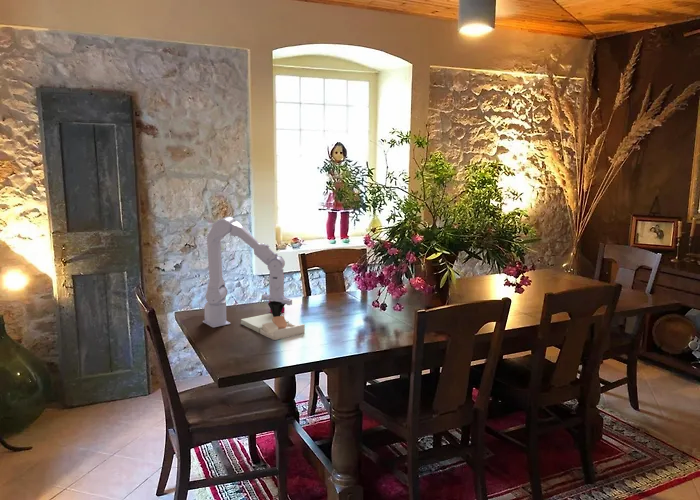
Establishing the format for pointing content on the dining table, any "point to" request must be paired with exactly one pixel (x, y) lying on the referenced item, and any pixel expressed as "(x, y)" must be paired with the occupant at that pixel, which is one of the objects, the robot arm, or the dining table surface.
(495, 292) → the dining table surface
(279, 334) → the tray
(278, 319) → the tile terracotta
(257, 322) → the board
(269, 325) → the tile cream
